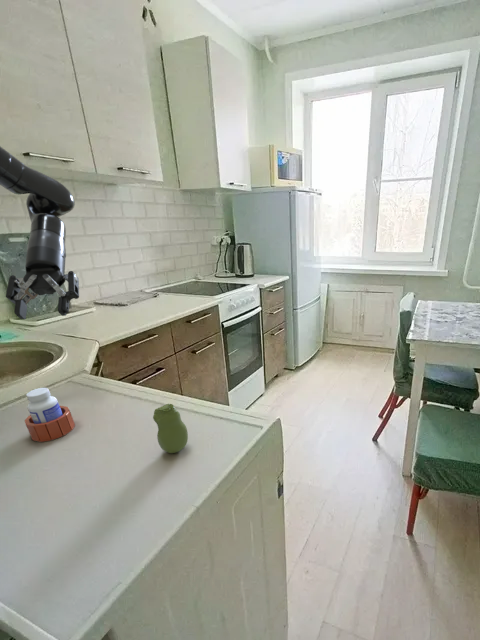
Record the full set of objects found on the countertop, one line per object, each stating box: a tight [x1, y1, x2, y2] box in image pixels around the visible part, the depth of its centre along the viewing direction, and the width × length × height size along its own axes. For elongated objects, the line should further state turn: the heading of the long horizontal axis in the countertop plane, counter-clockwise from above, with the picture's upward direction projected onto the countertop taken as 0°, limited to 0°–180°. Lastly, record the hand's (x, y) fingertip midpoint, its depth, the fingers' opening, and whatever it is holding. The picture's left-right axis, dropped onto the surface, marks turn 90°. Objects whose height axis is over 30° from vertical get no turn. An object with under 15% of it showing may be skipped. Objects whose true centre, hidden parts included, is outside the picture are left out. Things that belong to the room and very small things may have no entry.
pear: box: [152, 403, 189, 454], centre depth 67 cm, size 6×5×10 cm
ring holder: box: [24, 405, 76, 443], centre depth 77 cm, size 8×8×4 cm
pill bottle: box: [25, 387, 63, 424], centre depth 76 cm, size 5×5×10 cm
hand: (41, 315), depth 78 cm, fingers open, 8 cm apart
